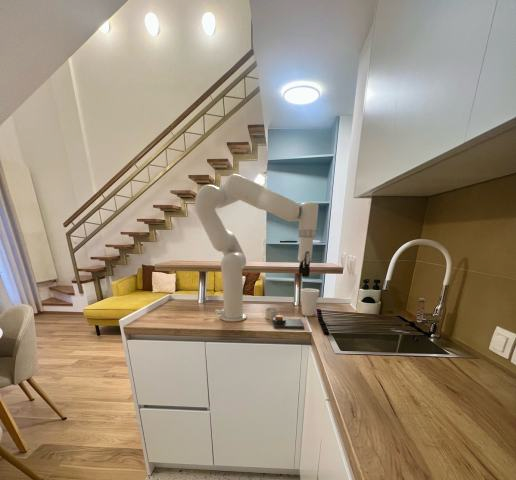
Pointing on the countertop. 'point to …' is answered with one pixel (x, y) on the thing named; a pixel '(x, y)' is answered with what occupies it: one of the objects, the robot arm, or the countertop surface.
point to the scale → (288, 323)
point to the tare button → (279, 317)
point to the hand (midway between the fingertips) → (303, 274)
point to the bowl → (271, 313)
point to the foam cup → (309, 300)
